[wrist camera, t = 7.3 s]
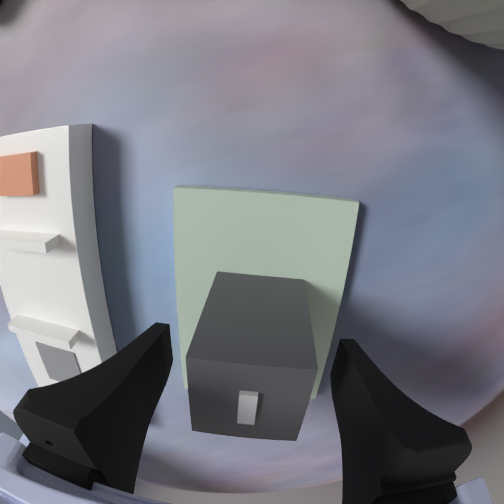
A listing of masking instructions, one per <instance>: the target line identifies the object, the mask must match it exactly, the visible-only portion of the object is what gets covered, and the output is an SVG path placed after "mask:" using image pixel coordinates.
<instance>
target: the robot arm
mask: <svg viewBox="0 0 504 504" xmlns="http://www.w3.org/2000/svg"><path fill="white" fill-rule="evenodd" d="M172 362H173V355H172V346H171V337H170V326H169V324H164V323H157V322H156V323H155V324H153V325H152V326H151V327H149V328H148V329H147V330H146V331H145V332H143V333H142V334H141V335H140V336H138V337H137V338H136V339H135V340H134V341H132V342H131V343H130V344H128V345H127V346H126V347H125V348H123V349H122V350H120V351H119V352H117V353H116V354H115V355H113V356H112V357H110V358H109V359H107V360H106V361H104V362H102V363H101V364H99V365H97V366H95V367H93V368H92V369H90V370H88V371H85V372H83V373H81V374H79V375H76V376H74V377H72V378H69V379H66V380H64V381H61V382H58V383H54V384H51V385H47V386H43V387H38V388H34V389H29V390H28V391H27V392H26V394H25V395H24V396H23V398H22V399H21V401H20V402H19V403H18V405H17V406H16V408H15V409H14V411H13V414H14V418H15V420H16V422H17V424H18V425H19V427H20V428H21V430H22V431H23V433H24V434H23V436H22V437H21V439H20V441H18V440H16V439H14V438H12V437H10V436H9V435H7V434H5V433H1V434H0V504H170V503H165V502H161V501H157V500H152V499H148V498H144V497H141V496H137V495H133V493H134V487H135V481H136V476H137V471H138V466H139V461H140V457H141V453H142V448H143V444H144V441H145V437H146V433H147V430H148V426H149V423H150V421H151V418H152V415H153V413H154V411H155V408H156V406H157V404H158V401H159V399H160V397H161V394H162V392H163V390H164V387H165V385H166V383H167V380H168V377H169V373H170V370H171V366H172ZM330 375H331V390H332V397H333V402H334V407H335V412H336V417H337V422H338V427H339V432H340V438H341V448H342V468H343V499H342V504H492V501H491V498H490V495H489V492H488V490H487V486H486V484H485V481H484V479H483V477H480V478H477V479H474V480H471V481H468V482H465V483H462V484H460V485H458V486H456V487H455V486H454V483H453V481H455V480H456V475H455V472H454V471H455V470H456V469H457V468H458V467H459V466H460V465H461V464H462V463H463V462H464V461H465V460H466V459H467V457H468V456H469V454H470V453H471V450H472V445H471V442H470V440H469V438H468V435H467V433H466V431H465V429H463V428H461V427H459V426H456V425H454V424H452V423H449V422H447V421H445V420H443V419H441V418H439V417H438V416H436V415H434V414H432V413H431V412H429V411H427V410H426V409H424V408H423V407H421V406H420V405H418V404H417V403H415V402H414V401H413V400H411V399H410V398H409V397H408V396H406V395H405V394H404V393H403V392H402V391H400V390H399V389H398V388H397V387H396V386H395V385H394V384H393V383H392V382H391V381H390V380H389V379H388V378H387V377H386V376H385V375H384V374H383V373H382V372H381V371H380V370H379V369H378V368H377V366H376V365H375V364H374V363H373V362H372V361H371V359H370V358H369V357H368V356H367V355H366V353H365V352H364V351H363V350H362V349H361V347H360V346H359V345H358V344H357V342H356V341H355V340H354V339H340V342H339V345H338V349H337V353H336V356H335V360H334V363H333V367H332V370H331V373H330Z"/></svg>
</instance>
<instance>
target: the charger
mask: <svg viewBox="0 0 504 504" xmlns="http://www.w3.org/2000/svg"><path fill="white" fill-rule="evenodd" d="M186 370H187V382H188V394H189V404H190V415H191V424H192V431H198V432H205V433H211V434H219V435H227V436H236V437H245V438H257V439H270V440H290V441H296V440H297V437H298V434H299V431H300V428H301V425H302V422H303V419H304V416H305V412H306V409H307V406H308V403H309V399H310V396H311V393H312V389H313V386H314V382H315V379H316V375H317V372H318V365H317V358H316V351H315V345H314V338H313V332H312V325H311V319H310V313H309V307H308V301H307V295H306V289H305V283H304V279H294V278H283V277H272V276H261V275H250V274H240V273H230V272H220V271H217V273H216V275H215V278H214V281H213V283H212V286H211V289H210V291H209V294H208V297H207V299H206V302H205V305H204V308H203V310H202V313H201V316H200V318H199V321H198V324H197V327H196V329H195V332H194V335H193V338H192V340H191V343H190V346H189V349H188V351H187V354H186Z"/></svg>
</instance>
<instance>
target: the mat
mask: <svg viewBox="0 0 504 504" xmlns="http://www.w3.org/2000/svg"><path fill="white" fill-rule="evenodd" d="M358 208H359V202H358V201H357V200H356V199H348V198H340V197H331V196H322V195H312V194H302V193H291V192H280V191H268V190H255V189H241V188H225V187H207V186H186V185H177V186H175V187H174V188H173V220H174V257H175V280H176V298H177V314H178V327H179V340H180V351H181V362H182V372H183V381H184V388H187V389H188V382H187V370H186V354H187V351H188V349H189V346H190V343H191V340H192V338H193V335H194V332H195V329H196V327H197V324H198V321H199V318H200V316H201V313H202V310H203V308H204V305H205V302H206V299H207V297H208V294H209V291H210V289H211V286H212V283H213V281H214V278H215V275H216V273H217V271H220V272H230V273H240V274H250V275H261V276H272V277H283V278H294V279H304V283H305V289H306V295H307V301H308V307H309V313H310V319H311V325H312V332H313V338H314V345H315V351H316V358H317V365H318V372H317V375H316V379H315V382H314V386H313V389H312V393H311V396H310V399H311V400H315V399H316V395H317V392H318V389H319V385H320V382H321V378H322V375H323V371H324V368H325V364H326V360H327V356H328V353H329V349H330V345H331V341H332V337H333V333H334V329H335V325H336V321H337V316H338V312H339V308H340V303H341V299H342V294H343V290H344V285H345V280H346V275H347V270H348V265H349V260H350V255H351V250H352V244H353V238H354V233H355V227H356V221H357V215H358Z"/></svg>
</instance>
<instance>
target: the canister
mask: <svg viewBox="0 0 504 504" xmlns="http://www.w3.org/2000/svg"><path fill="white" fill-rule="evenodd" d="M400 1H402V2H403V3H404V4H405V5H406V6H407V7H408V8H409V9H410V10H413V11H416V12H417V13H419V14H421V15H422V16H424V17H425V18H426V19H427V20H428V21H429V22H432V23H435V24H438V25H440V26H442V27H443V28H444V29H445V30H447V31H448V32H450V33H453V34H458V35H461V36H462V37H464V38H465V39H467V40H469V41H471V42H475V43H481V44H484V45H486V46H488V47H491V48H495V49H501V50H504V0H400Z"/></svg>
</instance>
